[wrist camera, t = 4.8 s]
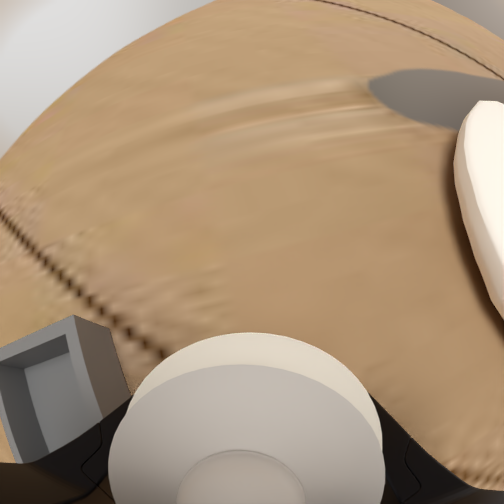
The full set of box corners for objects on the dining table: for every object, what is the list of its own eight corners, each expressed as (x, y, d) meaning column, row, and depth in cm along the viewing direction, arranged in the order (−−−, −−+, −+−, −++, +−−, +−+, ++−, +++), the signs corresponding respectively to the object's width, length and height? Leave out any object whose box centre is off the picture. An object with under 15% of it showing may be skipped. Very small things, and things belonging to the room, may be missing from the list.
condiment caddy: (215, 551, 10) (204, 584, 6) (110, 556, 9) (86, 577, 5) (109, 328, 16) (73, 314, 12) (24, 362, 15) (-13, 354, 11)
